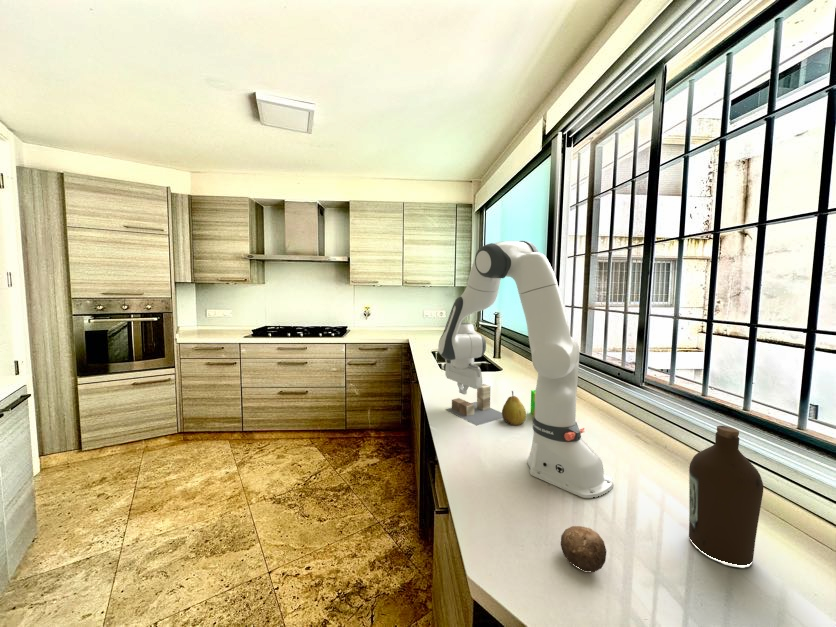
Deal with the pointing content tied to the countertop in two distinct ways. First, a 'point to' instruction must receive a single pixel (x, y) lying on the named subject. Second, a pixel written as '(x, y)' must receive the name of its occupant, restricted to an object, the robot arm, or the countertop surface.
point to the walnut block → (463, 407)
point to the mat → (479, 415)
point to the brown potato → (583, 548)
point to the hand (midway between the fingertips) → (462, 393)
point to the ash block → (483, 397)
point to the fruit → (513, 411)
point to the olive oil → (724, 500)
